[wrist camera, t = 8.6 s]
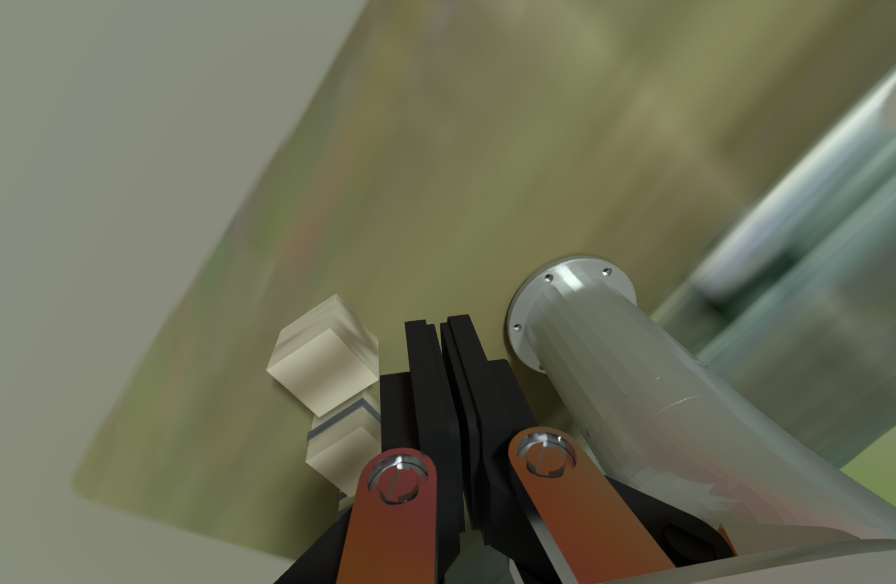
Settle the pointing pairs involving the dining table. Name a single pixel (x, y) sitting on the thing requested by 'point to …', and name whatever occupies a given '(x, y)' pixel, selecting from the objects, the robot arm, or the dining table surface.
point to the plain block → (325, 356)
